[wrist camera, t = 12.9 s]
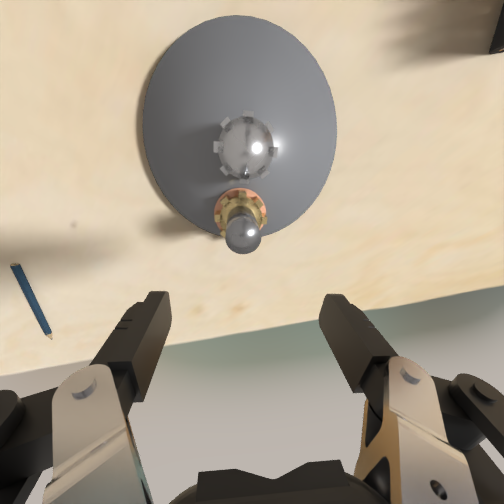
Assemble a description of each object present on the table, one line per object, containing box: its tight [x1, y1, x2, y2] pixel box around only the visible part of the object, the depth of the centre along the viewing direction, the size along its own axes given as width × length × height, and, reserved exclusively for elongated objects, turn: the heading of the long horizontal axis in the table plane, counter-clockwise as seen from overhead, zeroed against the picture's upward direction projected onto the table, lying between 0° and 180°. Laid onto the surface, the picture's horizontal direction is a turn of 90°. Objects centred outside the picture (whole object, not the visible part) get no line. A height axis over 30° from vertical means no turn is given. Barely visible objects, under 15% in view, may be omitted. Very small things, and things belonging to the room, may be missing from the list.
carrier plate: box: [143, 15, 337, 237], centre depth 21 cm, size 22×22×6 cm
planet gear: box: [215, 190, 267, 254], centre depth 22 cm, size 6×6×8 cm
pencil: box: [10, 264, 52, 340], centre depth 31 cm, size 1×1×15 cm
